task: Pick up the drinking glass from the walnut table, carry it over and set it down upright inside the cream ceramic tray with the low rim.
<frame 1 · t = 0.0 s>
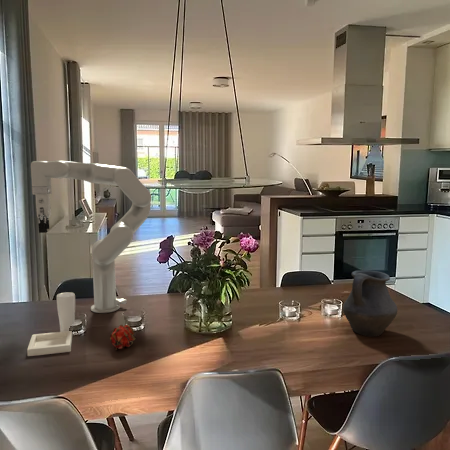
hand: (44, 230, 194), 37 cm above the table, tool pointing down, fingers open, 9 cm apart
tray: (51, 345, 165), on the table
pitcher: (367, 333, 178), on the table
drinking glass: (67, 332, 179), on the table
dragon fruit: (122, 347, 165), on the table
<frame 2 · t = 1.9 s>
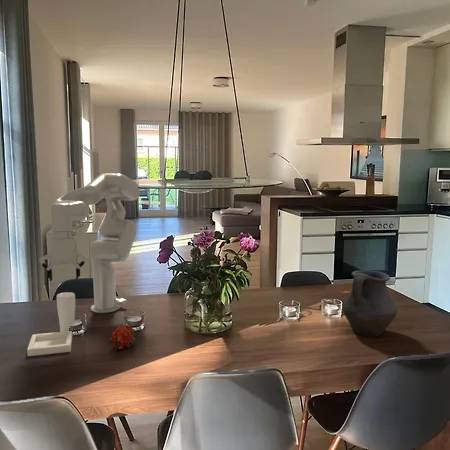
hand: (64, 279, 176), 21 cm above the table, tool pointing down, fingers open, 9 cm apart
nothing on the table moved.
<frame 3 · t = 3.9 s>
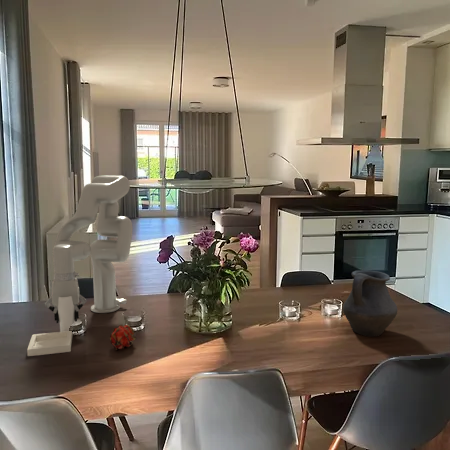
hand: (66, 320, 178), 4 cm above the table, tool pointing down, fingers closed on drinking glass, 6 cm apart
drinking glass: (67, 332, 179), on the table, touching gripper
everything else where it was.
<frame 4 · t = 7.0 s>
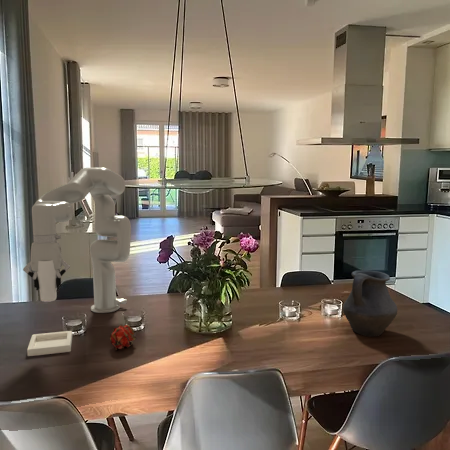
hand: (48, 288, 162), 22 cm above the table, tool pointing down, fingers closed on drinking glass, 6 cm apart
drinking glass: (48, 300, 163), point 17 cm above the table, touching gripper
everything else where it was.
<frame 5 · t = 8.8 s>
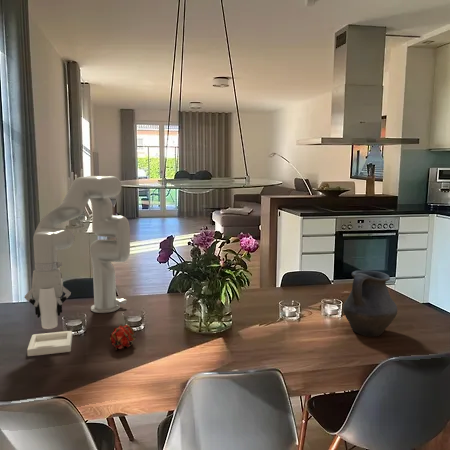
hand: (49, 315, 164), 12 cm above the table, tool pointing down, fingers closed on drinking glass, 6 cm apart
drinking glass: (49, 327, 164), point 7 cm above the table, touching gripper
everything else where it was.
when the fingers open (6 cm above the table, at t = 10.4 s): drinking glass drops 1 cm, resting on tray.
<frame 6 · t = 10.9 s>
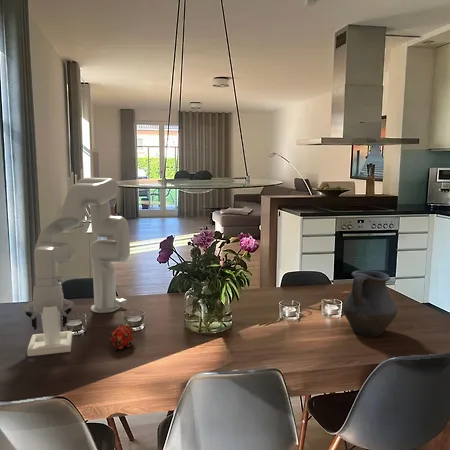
hand: (50, 327, 164), 7 cm above the table, tool pointing down, fingers open, 9 cm apart
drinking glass: (52, 344, 166), resting on tray
everything else where it was.
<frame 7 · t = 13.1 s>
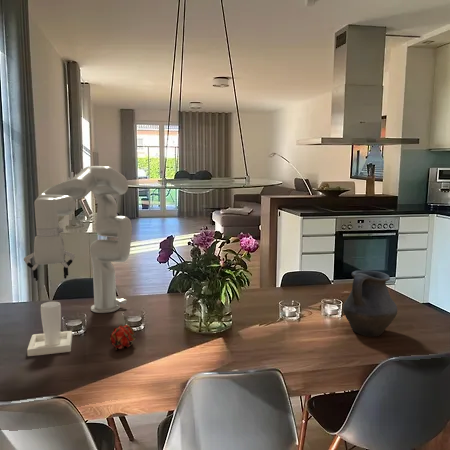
hand: (51, 278, 165), 24 cm above the table, tool pointing down, fingers open, 9 cm apart
nothing on the table moved.
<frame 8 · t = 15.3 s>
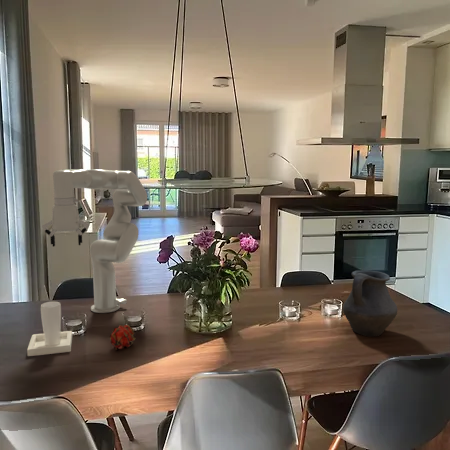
hand: (66, 245, 180), 33 cm above the table, tool pointing down, fingers open, 9 cm apart
nothing on the table moved.
at the end: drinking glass 0.6 cm off-centre on the tray, point 0.4 cm above the tray's base; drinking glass tilted 0°; the gripper is holding nothing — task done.
